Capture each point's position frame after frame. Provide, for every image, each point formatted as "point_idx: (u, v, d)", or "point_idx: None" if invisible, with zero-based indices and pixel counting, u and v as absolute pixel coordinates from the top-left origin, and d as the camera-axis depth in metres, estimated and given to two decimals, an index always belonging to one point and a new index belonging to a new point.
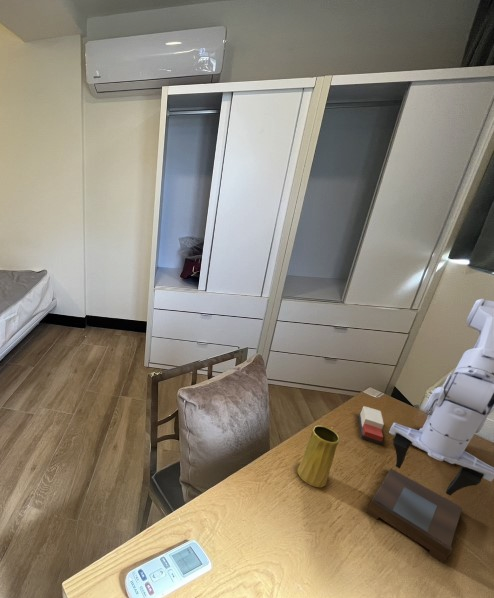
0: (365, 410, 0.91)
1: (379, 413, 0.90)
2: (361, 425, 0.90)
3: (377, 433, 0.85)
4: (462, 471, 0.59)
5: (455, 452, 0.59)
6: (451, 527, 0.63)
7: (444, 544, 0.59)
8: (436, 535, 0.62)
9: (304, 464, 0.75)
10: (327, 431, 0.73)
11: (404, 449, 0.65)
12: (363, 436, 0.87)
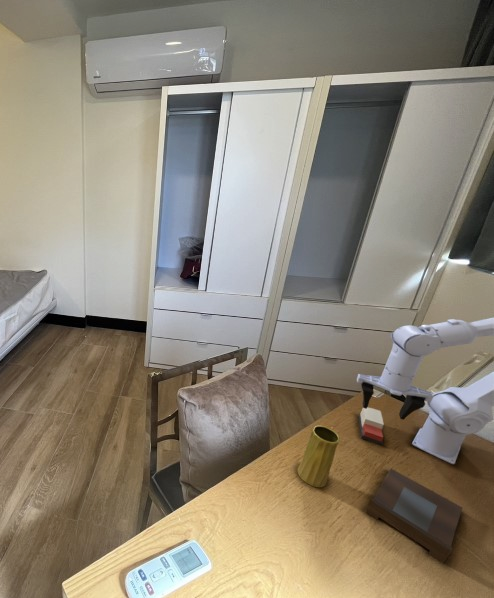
0: (365, 410, 0.91)
1: (379, 413, 0.90)
2: (361, 425, 0.90)
3: (377, 433, 0.85)
4: (412, 399, 0.78)
5: (407, 386, 0.77)
6: (451, 527, 0.63)
7: (444, 544, 0.59)
8: (436, 535, 0.62)
9: (304, 464, 0.75)
10: (327, 431, 0.73)
11: (371, 393, 0.82)
12: (363, 436, 0.87)
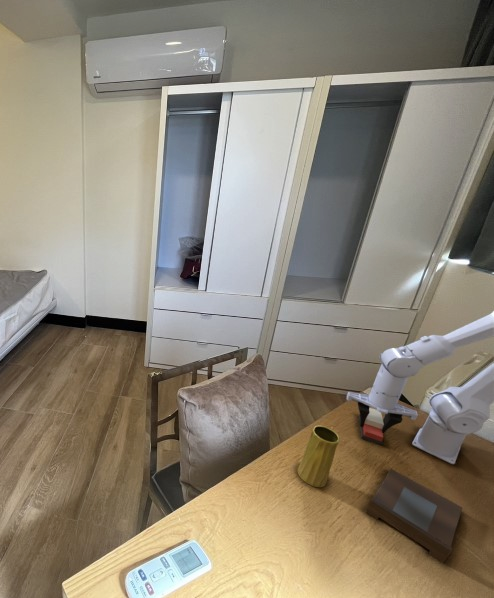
0: None
1: (379, 413, 0.90)
2: None
3: (377, 433, 0.85)
4: (390, 415, 0.84)
5: (393, 405, 0.82)
6: (451, 527, 0.63)
7: (444, 544, 0.59)
8: (436, 535, 0.62)
9: (304, 464, 0.75)
10: (327, 431, 0.73)
11: (367, 412, 0.86)
12: (363, 436, 0.87)
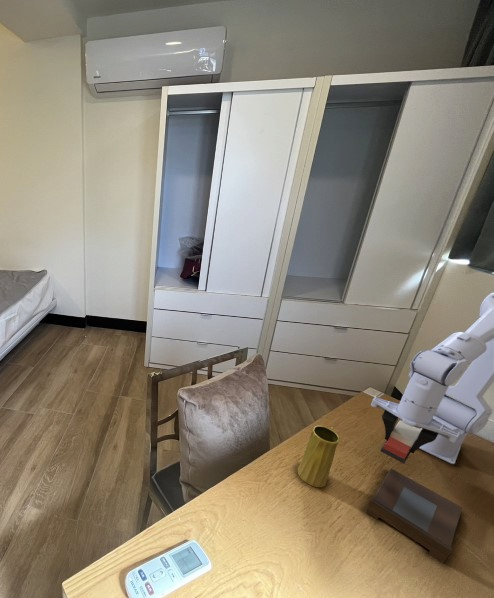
0: (398, 424, 0.77)
1: (417, 431, 0.75)
2: None
3: (401, 449, 0.72)
4: (421, 431, 0.70)
5: (424, 418, 0.68)
6: (451, 527, 0.63)
7: (444, 544, 0.59)
8: (436, 535, 0.62)
9: (304, 464, 0.75)
10: (327, 431, 0.73)
11: (391, 423, 0.73)
12: (382, 449, 0.74)
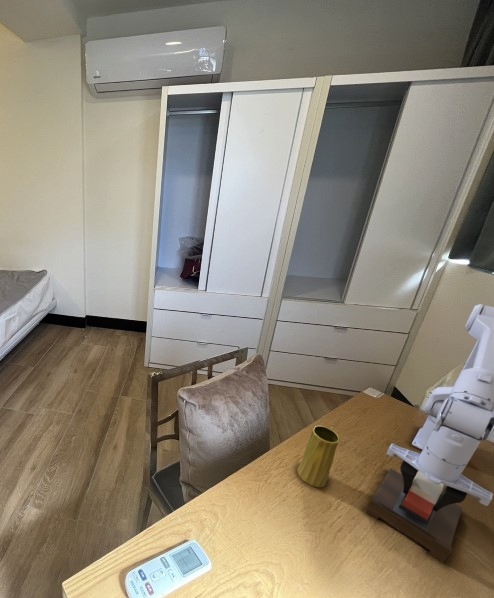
0: (418, 475, 0.68)
1: (440, 484, 0.66)
2: None
3: (423, 507, 0.63)
4: (447, 489, 0.61)
5: (451, 476, 0.59)
6: (451, 527, 0.63)
7: (444, 544, 0.59)
8: (436, 535, 0.62)
9: (304, 464, 0.75)
10: (327, 431, 0.73)
11: (412, 476, 0.64)
12: (401, 506, 0.65)
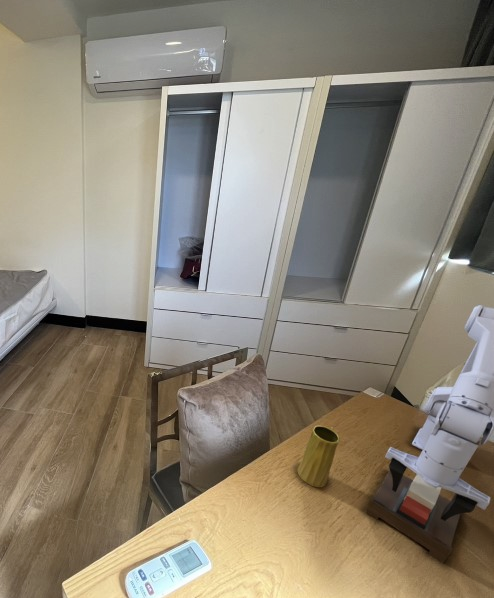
0: (416, 480, 0.68)
1: (437, 489, 0.66)
2: (404, 497, 0.68)
3: (420, 512, 0.64)
4: (456, 498, 0.60)
5: (449, 479, 0.60)
6: (451, 527, 0.63)
7: (444, 544, 0.59)
8: (436, 535, 0.62)
9: (304, 464, 0.75)
10: (327, 431, 0.73)
11: (400, 474, 0.66)
12: (399, 510, 0.66)
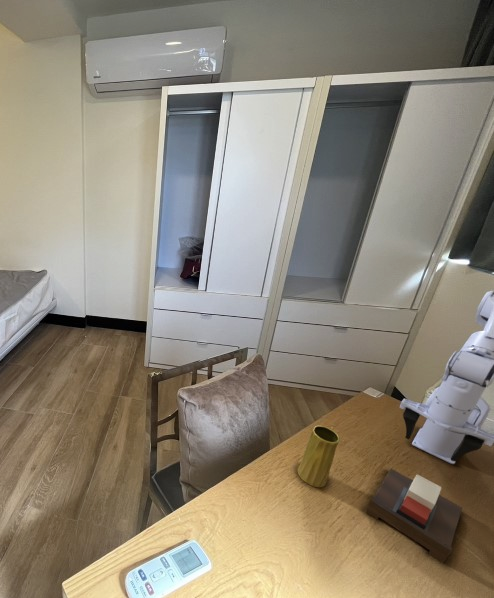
0: (416, 480, 0.68)
1: (437, 489, 0.66)
2: (404, 497, 0.68)
3: (420, 512, 0.64)
4: (465, 438, 0.66)
5: (459, 421, 0.66)
6: (451, 527, 0.63)
7: (444, 544, 0.59)
8: (436, 535, 0.62)
9: (304, 464, 0.75)
10: (327, 431, 0.73)
11: (413, 421, 0.72)
12: (399, 510, 0.66)
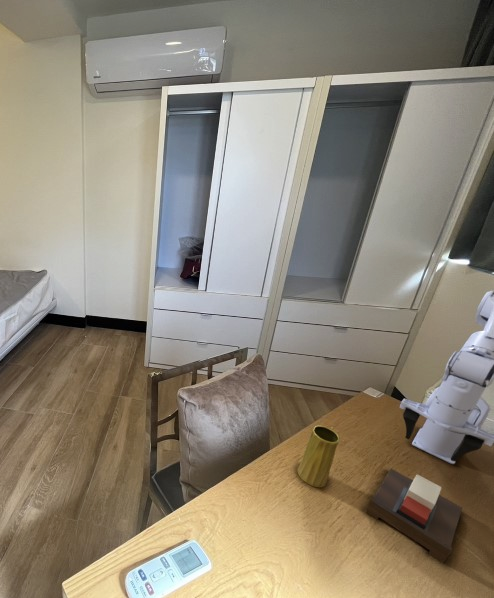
0: (416, 480, 0.68)
1: (437, 489, 0.66)
2: (404, 497, 0.68)
3: (420, 512, 0.64)
4: (465, 438, 0.66)
5: (459, 421, 0.66)
6: (451, 527, 0.63)
7: (444, 544, 0.59)
8: (436, 535, 0.62)
9: (304, 464, 0.75)
10: (327, 431, 0.73)
11: (413, 421, 0.72)
12: (399, 510, 0.66)
